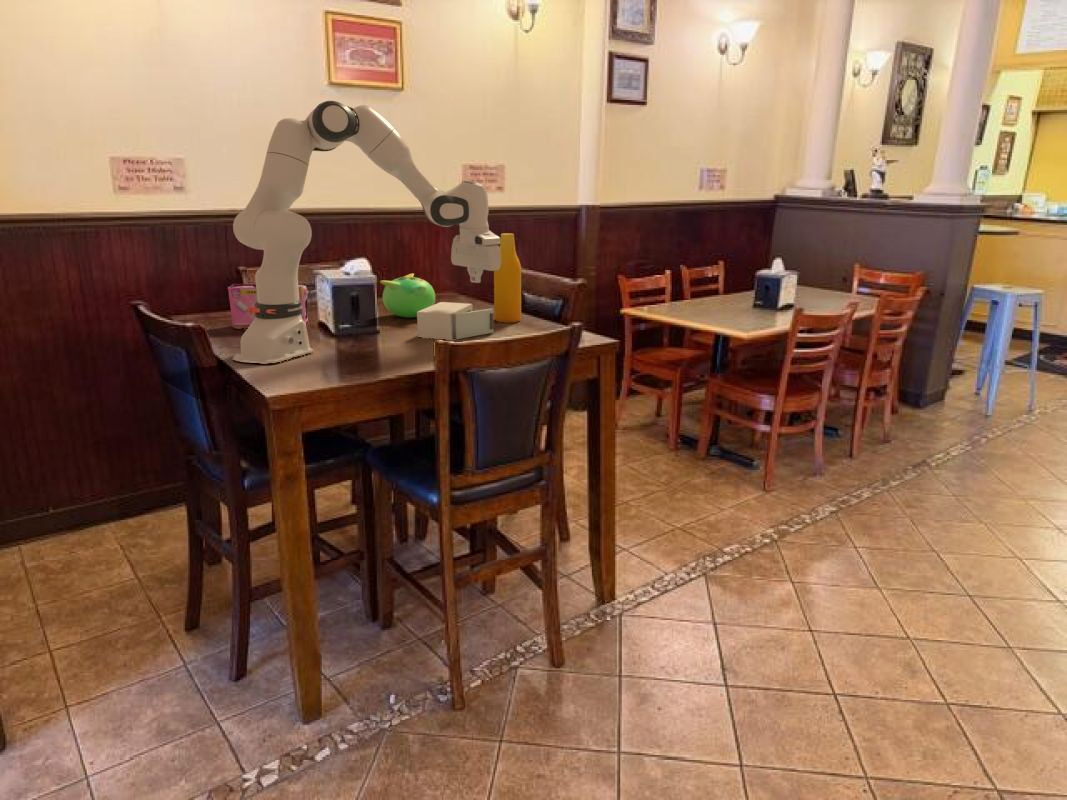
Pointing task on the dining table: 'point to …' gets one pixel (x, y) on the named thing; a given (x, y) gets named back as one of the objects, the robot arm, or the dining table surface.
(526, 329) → the dining table surface
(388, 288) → the green horned ball
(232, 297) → the gum box
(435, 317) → the cabinet housing
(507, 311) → the beer bottle
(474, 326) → the side door
